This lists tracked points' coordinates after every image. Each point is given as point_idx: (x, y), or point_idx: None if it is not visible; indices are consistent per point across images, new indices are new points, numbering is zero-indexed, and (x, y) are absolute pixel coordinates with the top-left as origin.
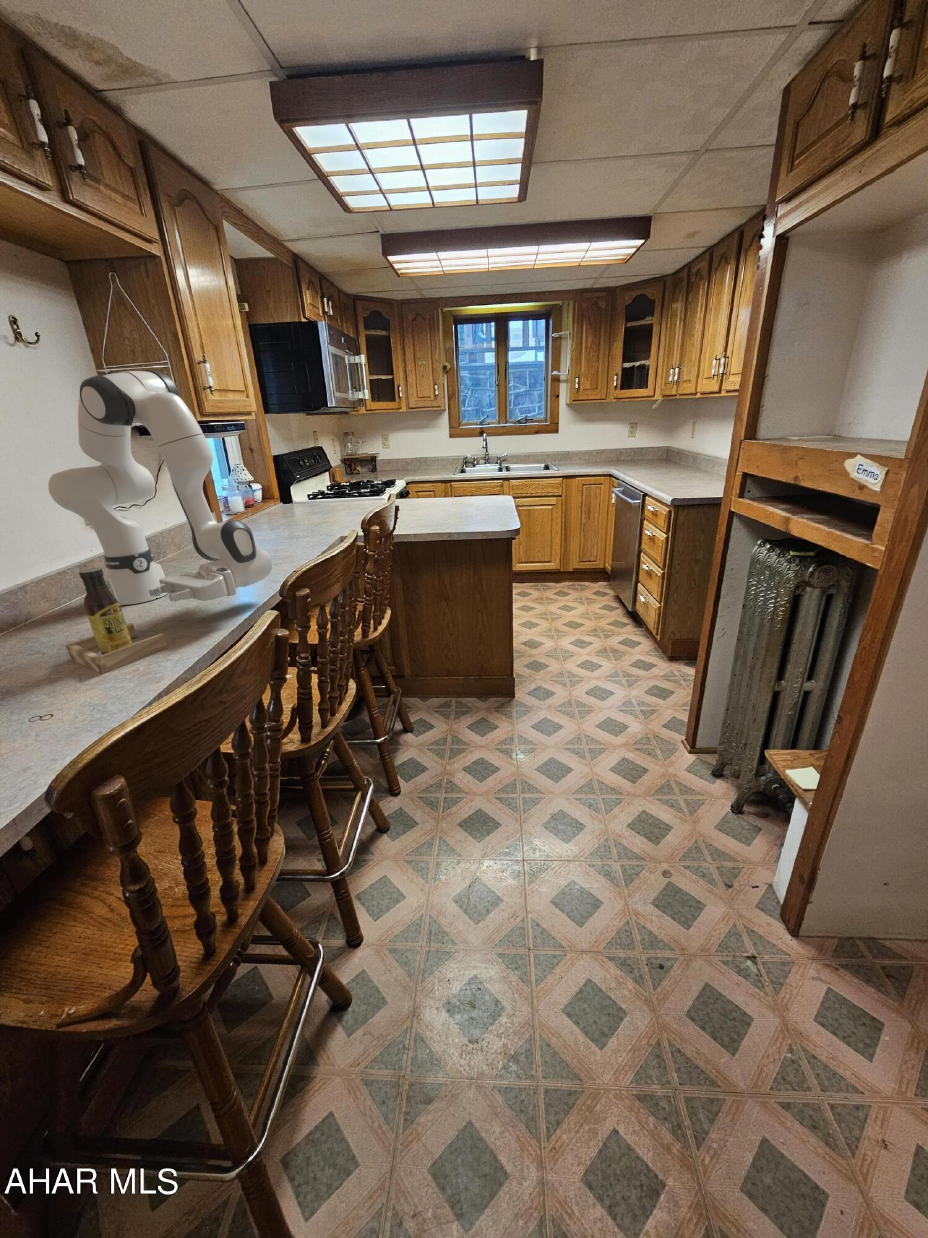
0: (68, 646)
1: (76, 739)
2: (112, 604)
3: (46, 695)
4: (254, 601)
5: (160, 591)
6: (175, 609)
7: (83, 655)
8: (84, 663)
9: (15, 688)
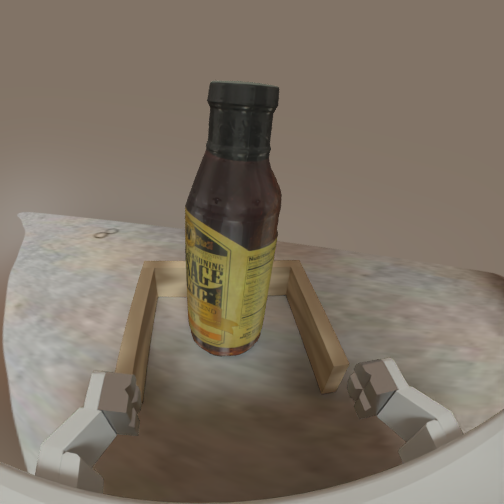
0: (285, 260)
1: (31, 235)
2: (186, 207)
3: (163, 245)
4: None
5: (397, 419)
6: None
7: None
8: None
9: None
